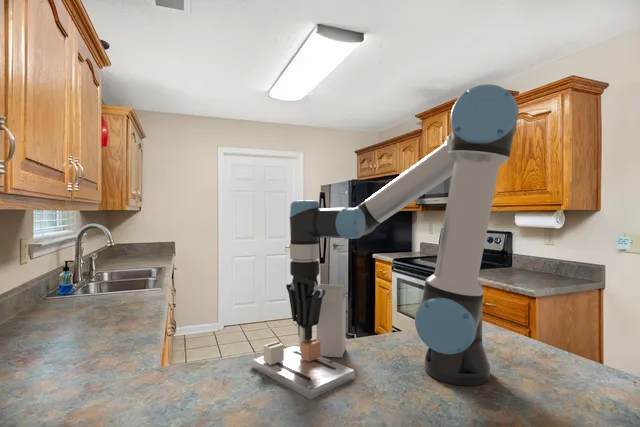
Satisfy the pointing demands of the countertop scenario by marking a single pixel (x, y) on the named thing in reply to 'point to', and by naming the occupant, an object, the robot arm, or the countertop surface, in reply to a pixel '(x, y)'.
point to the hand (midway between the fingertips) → (305, 350)
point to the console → (305, 373)
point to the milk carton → (332, 321)
